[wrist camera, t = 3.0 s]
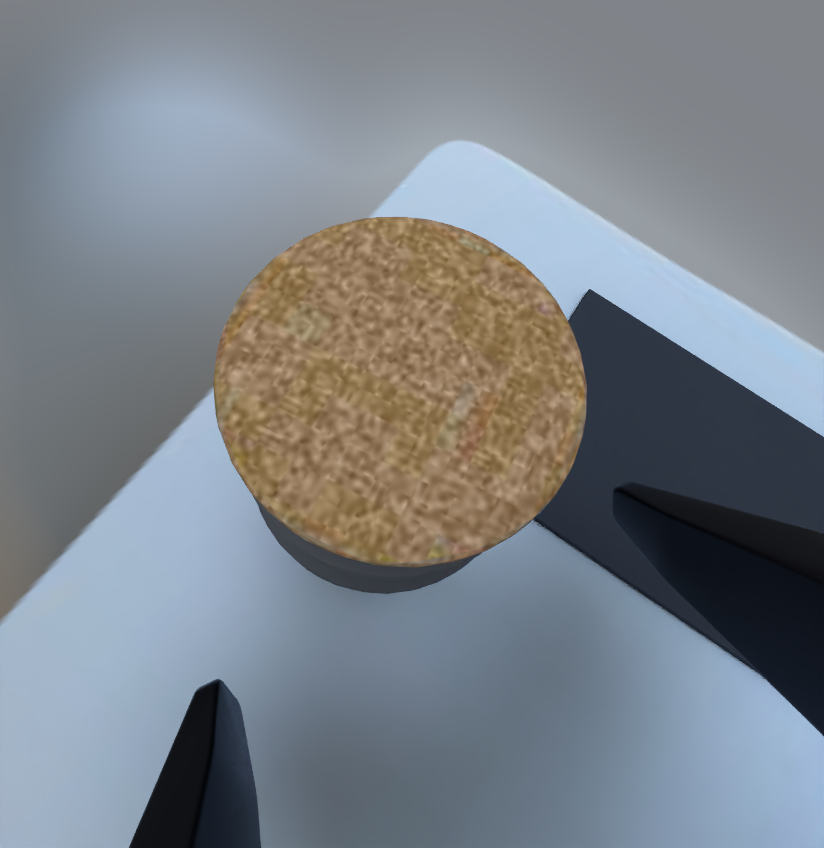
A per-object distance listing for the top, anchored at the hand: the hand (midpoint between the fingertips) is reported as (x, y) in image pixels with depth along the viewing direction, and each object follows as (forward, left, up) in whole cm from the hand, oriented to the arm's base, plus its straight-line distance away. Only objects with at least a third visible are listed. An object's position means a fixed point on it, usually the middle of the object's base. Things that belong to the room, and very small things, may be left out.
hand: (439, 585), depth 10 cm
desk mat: (+5, -14, -10) cm, 18 cm away
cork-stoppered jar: (+3, +1, -10) cm, 11 cm away
